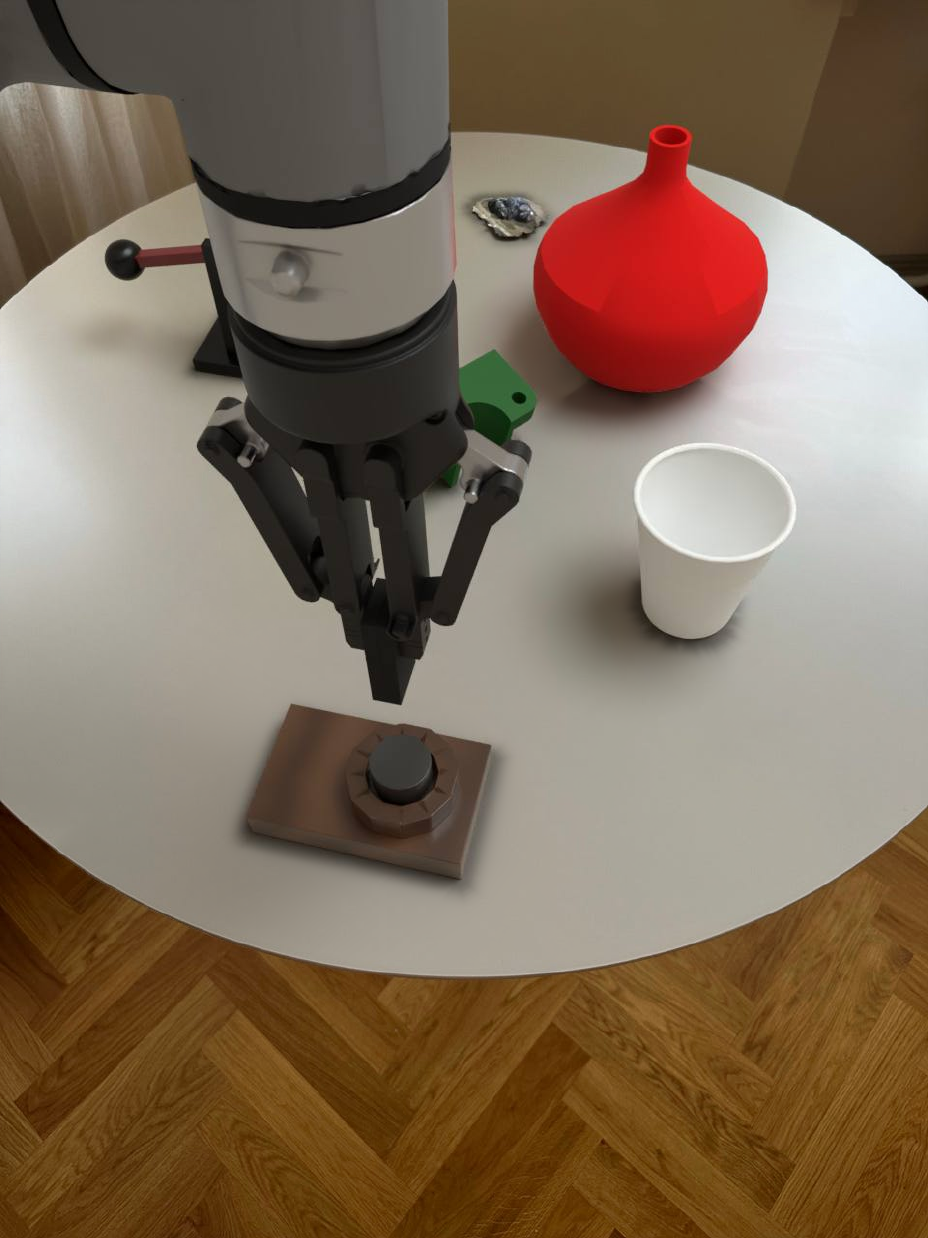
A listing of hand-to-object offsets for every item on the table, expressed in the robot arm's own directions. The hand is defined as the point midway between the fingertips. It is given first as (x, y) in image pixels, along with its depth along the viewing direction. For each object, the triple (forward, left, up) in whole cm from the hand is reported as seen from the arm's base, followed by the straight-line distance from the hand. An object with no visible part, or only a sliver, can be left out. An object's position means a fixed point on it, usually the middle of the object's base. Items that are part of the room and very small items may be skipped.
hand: (394, 680), depth 52 cm
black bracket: (-23, +38, -14) cm, 47 cm away
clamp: (-4, +30, -14) cm, 33 cm away
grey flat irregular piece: (-7, +62, -14) cm, 64 cm away
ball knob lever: (-28, +38, -7) cm, 48 cm away
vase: (+8, +45, -14) cm, 48 cm away
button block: (-2, 0, -14) cm, 14 cm away
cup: (+15, +19, -14) cm, 28 cm away
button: (0, 0, -10) cm, 10 cm away
